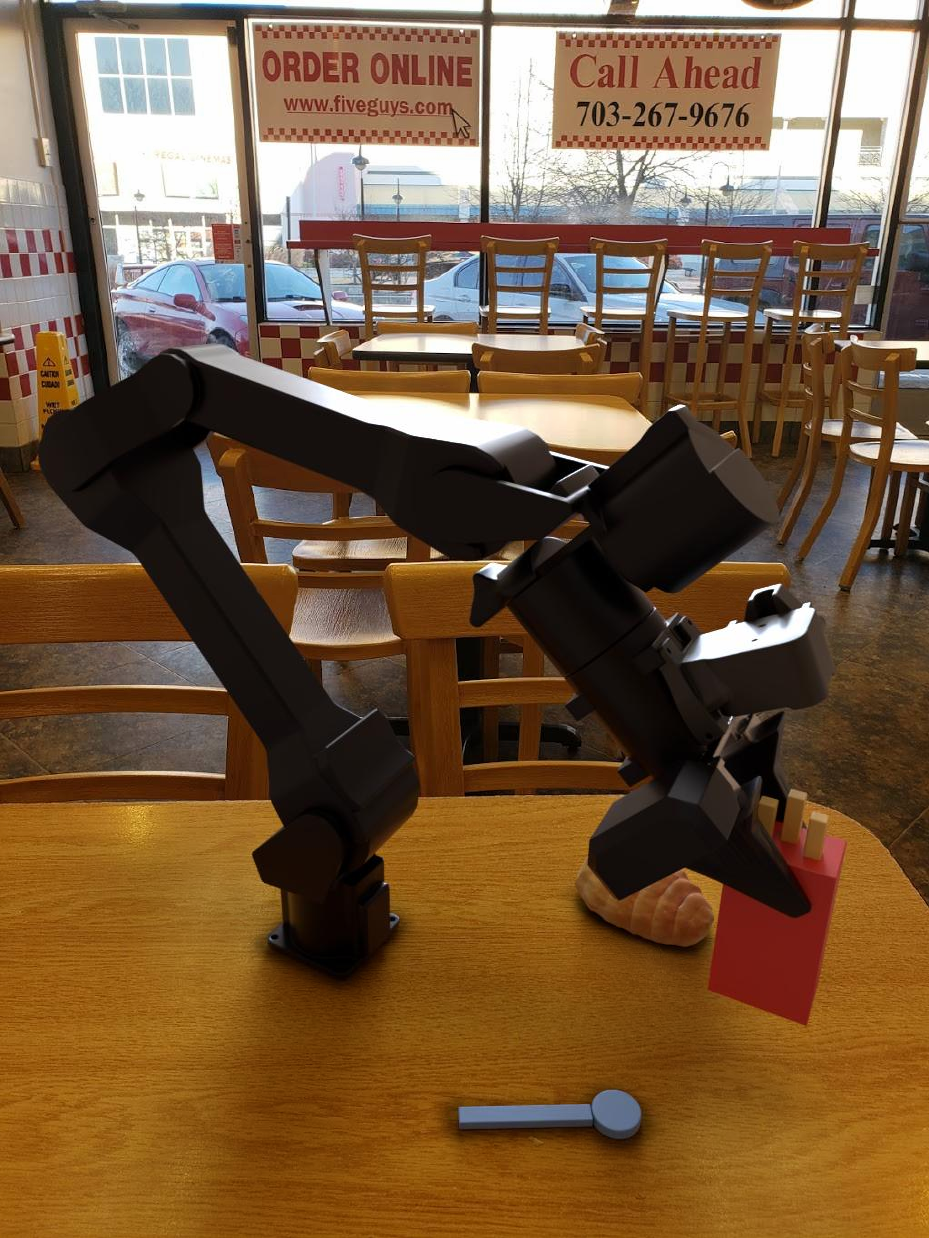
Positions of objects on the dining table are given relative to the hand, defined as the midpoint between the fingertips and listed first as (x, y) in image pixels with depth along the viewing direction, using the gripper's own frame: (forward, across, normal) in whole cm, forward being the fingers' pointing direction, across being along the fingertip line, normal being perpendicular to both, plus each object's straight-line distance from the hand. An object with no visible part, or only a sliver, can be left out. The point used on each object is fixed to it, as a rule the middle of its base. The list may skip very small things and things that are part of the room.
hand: (808, 891), depth 46 cm
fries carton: (+4, 0, +6) cm, 7 cm away
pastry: (+2, +12, +18) cm, 22 cm away
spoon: (+2, -7, +17) cm, 18 cm away
